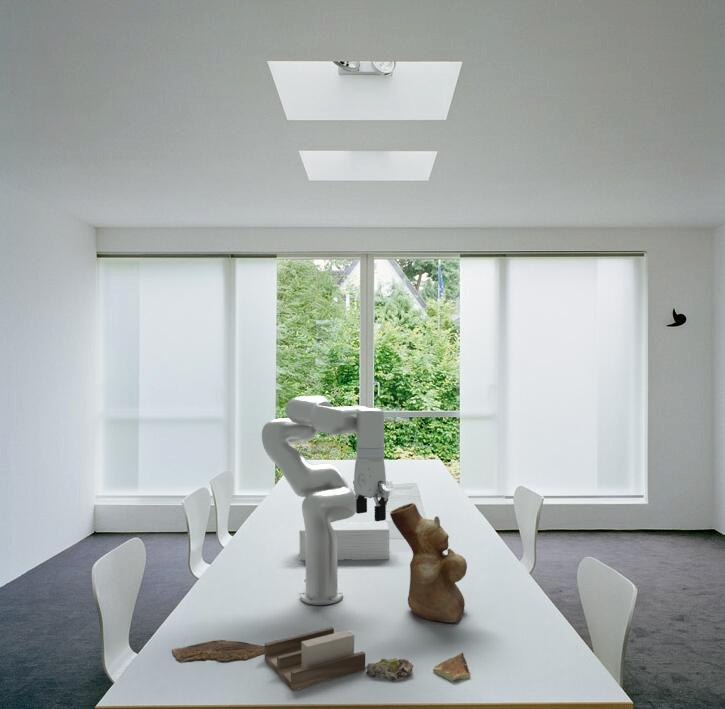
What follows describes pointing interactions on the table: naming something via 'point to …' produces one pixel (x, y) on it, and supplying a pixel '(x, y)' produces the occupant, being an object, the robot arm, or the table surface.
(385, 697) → the table surface
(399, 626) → the table surface
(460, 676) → the shard
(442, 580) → the ceramic vessel
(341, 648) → the strip
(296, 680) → the walnut rack
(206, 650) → the wooden fragment
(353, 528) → the white long block
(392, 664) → the mineral rock
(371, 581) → the table surface
